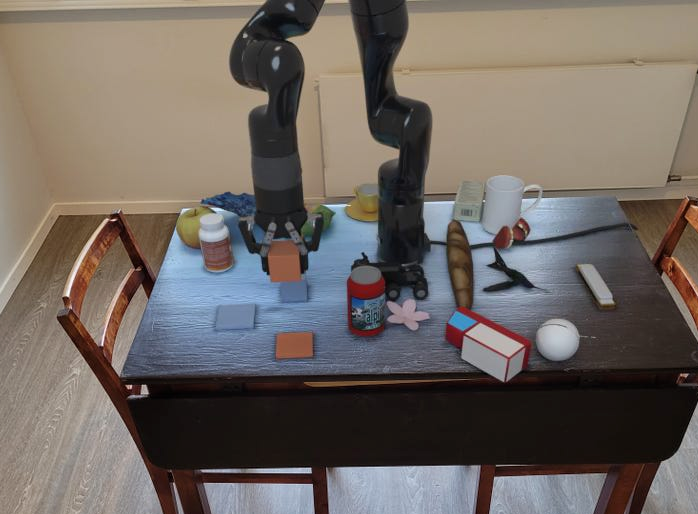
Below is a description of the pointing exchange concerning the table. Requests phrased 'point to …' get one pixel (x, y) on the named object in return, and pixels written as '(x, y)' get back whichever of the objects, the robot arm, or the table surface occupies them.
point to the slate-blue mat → (236, 317)
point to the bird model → (511, 273)
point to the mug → (505, 202)
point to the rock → (233, 203)
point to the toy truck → (488, 344)
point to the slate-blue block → (294, 290)
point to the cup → (364, 203)
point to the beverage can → (366, 301)
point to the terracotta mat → (294, 345)
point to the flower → (406, 314)
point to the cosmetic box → (469, 200)
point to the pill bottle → (215, 243)
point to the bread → (460, 264)
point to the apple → (191, 225)
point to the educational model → (315, 209)
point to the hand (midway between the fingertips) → (286, 271)
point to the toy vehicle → (398, 277)
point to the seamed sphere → (557, 339)
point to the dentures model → (512, 234)
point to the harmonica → (595, 286)
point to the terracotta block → (284, 261)
